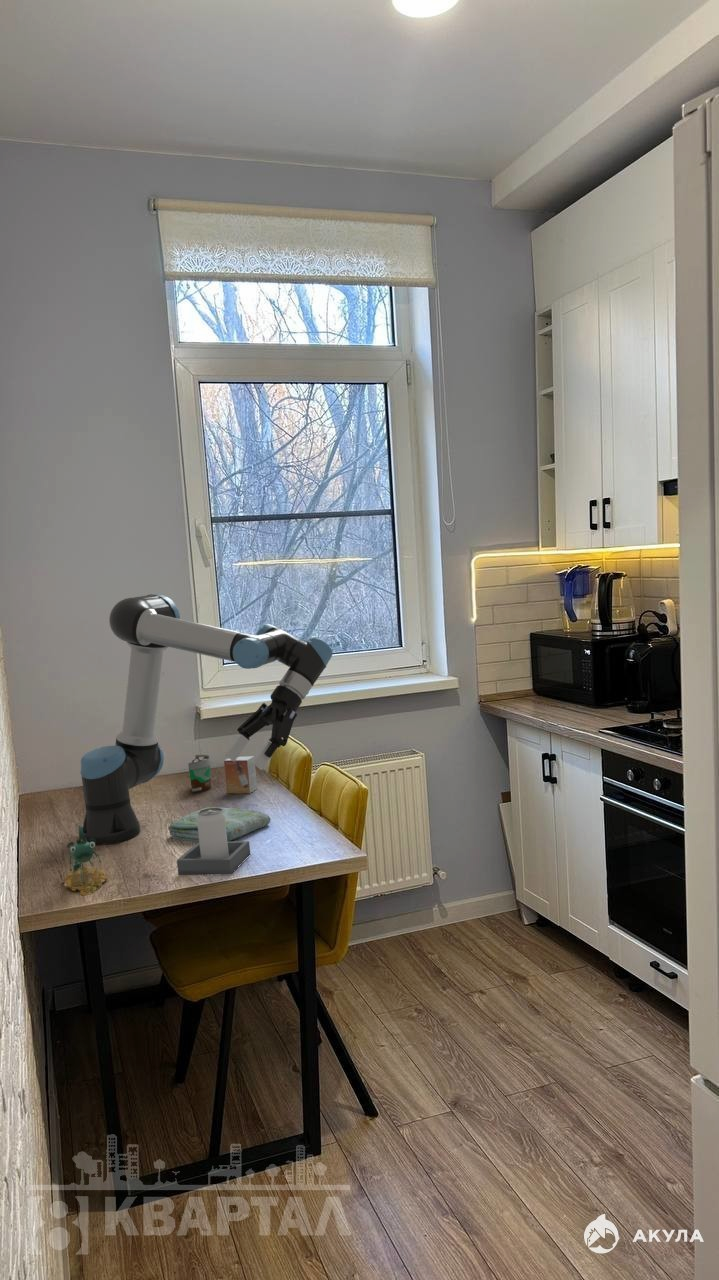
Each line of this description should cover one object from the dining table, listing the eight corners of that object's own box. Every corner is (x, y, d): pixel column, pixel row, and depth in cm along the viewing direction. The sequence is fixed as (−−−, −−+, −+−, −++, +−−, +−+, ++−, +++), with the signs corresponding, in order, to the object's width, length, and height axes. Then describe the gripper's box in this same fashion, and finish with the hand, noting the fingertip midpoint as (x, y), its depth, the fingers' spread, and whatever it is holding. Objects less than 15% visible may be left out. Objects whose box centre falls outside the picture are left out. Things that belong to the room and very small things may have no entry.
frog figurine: (106, 867, 224) (100, 809, 221) (110, 900, 208) (104, 838, 205) (64, 874, 222) (58, 816, 219) (65, 908, 205) (58, 845, 202)
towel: (212, 819, 259) (210, 801, 258) (272, 826, 247) (270, 807, 246) (165, 839, 243) (163, 820, 243) (227, 848, 232) (225, 828, 231)
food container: (211, 793, 286) (207, 761, 285) (191, 795, 286) (188, 763, 285) (217, 783, 299) (214, 752, 298) (198, 784, 299) (195, 754, 298)
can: (233, 856, 221) (228, 807, 219) (222, 865, 214) (217, 815, 213) (208, 856, 222) (202, 807, 221) (197, 865, 216) (191, 815, 215)
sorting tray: (178, 874, 214) (176, 860, 213) (200, 855, 226) (198, 841, 226) (231, 874, 211) (229, 859, 210) (250, 855, 223) (249, 841, 223)
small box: (226, 794, 284) (223, 760, 283) (234, 789, 289) (230, 756, 288) (250, 793, 282) (247, 760, 281) (257, 788, 287) (254, 755, 286)
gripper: (327, 706, 225) (280, 779, 218) (274, 696, 246) (229, 763, 238) (307, 688, 222) (258, 761, 215) (255, 679, 242) (209, 747, 235)
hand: (243, 762), depth 227 cm, fingers open, 13 cm apart
